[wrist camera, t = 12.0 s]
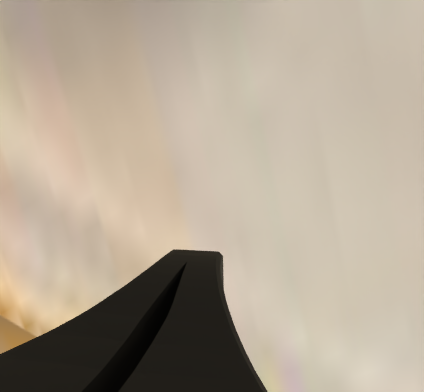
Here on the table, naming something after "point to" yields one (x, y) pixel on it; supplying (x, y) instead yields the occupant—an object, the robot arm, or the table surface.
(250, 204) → the table surface
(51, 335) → the robot arm
